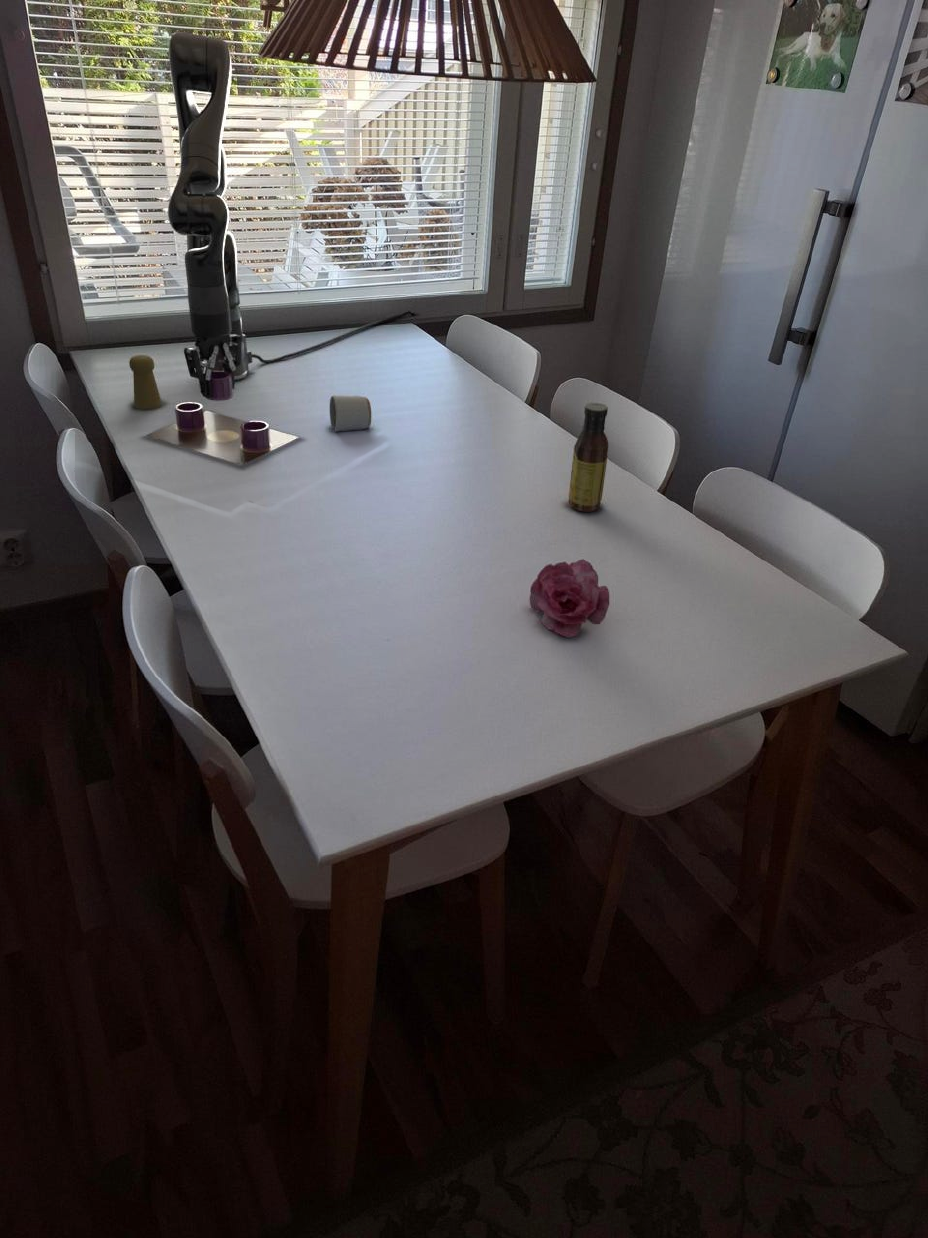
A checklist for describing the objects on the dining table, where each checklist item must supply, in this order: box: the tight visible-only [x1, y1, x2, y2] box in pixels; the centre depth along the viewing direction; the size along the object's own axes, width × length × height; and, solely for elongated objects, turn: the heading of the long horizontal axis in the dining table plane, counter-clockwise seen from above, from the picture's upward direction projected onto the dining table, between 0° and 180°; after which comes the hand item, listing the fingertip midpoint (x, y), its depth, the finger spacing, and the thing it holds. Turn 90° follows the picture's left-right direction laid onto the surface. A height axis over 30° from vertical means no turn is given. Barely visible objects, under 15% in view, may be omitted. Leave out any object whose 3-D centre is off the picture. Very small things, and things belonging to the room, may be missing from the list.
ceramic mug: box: [329, 394, 372, 432], centre depth 187 cm, size 11×8×8 cm
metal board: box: [145, 410, 300, 466], centre depth 180 cm, size 18×26×1 cm
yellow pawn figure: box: [128, 354, 163, 410], centre depth 191 cm, size 6×6×11 cm
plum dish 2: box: [204, 371, 234, 402], centre depth 174 cm, size 6×6×4 cm
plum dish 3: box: [240, 420, 270, 451], centre depth 175 cm, size 6×6×4 cm
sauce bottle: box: [568, 402, 609, 513], centre depth 157 cm, size 6×6×20 cm
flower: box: [529, 559, 610, 638], centre depth 127 cm, size 11×10×10 cm
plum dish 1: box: [174, 401, 205, 432], centre depth 182 cm, size 6×6×4 cm
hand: (218, 392), depth 175 cm, fingers closed on plum dish 2, 5 cm apart
